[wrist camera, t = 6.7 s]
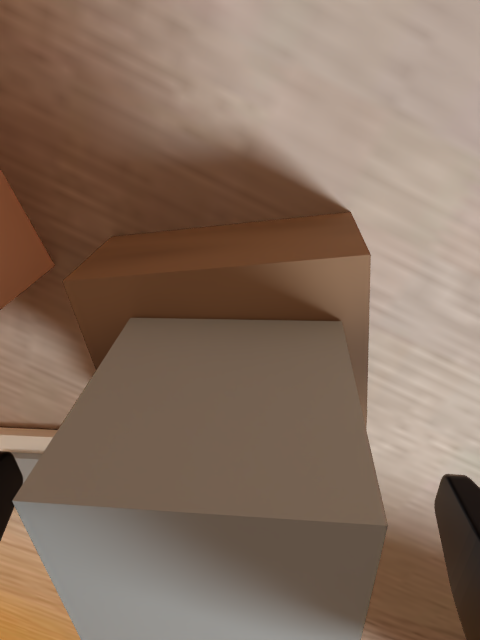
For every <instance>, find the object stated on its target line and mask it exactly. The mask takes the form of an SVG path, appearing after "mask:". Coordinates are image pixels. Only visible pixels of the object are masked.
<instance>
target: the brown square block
mask: <svg viewBox="0 0 480 640" xmlns="http://www.w3.org/2000/svg"><path fill="white" fill-rule="evenodd" d="M370 258H371V255H370V252H369V250H368V248H367V246H366V244H365V242H364V239H363V237H362V235H361V233H360V231H359V229H358V227H357V224H356V222H355V220H354V218H353V216H352V214H351V212H345V213H336V214H326V215H316V216H307V217H297V218H287V219H277V220H268V221H258V222H248V223H239V224H229V225H219V226H210V227H200V228H190V229H181V230H171V231H161V232H152V233H142V234H132V235H122V236H113V237H111V238H110V239H109V240H107V241H106V242H105V243H104V244H103V245H102V246H101V247H100V248H99V249H97V250H96V251H95V252H94V253H93V254H92V255H91V256H90V257H89V258H88V259H86V260H85V261H84V262H83V263H82V264H81V265H80V266H79V267H78V268H76V269H75V270H74V271H73V272H72V273H71V274H70V275H69V276H68V277H67V278H65V279H64V280H63V281H62V282H63V284H64V287H65V290H66V292H67V295H68V298H69V300H70V303H71V305H72V308H73V311H74V313H75V316H76V319H77V321H78V324H79V326H80V329H81V332H82V334H83V337H84V340H85V342H86V345H87V347H88V350H89V353H90V355H91V358H92V361H93V363H94V366H95V368H96V370H97V369H98V367H99V366H100V364H101V362H102V361H103V359H104V358H105V356H106V355H107V353H108V352H109V350H110V348H111V347H112V345H113V344H114V342H115V341H116V339H117V338H118V336H119V335H120V333H121V331H122V330H123V328H124V327H125V325H126V324H127V322H128V321H129V319H130V318H176V319H236V320H296V321H342V325H343V329H344V334H345V338H346V342H347V347H348V351H349V356H350V360H351V365H352V369H353V374H354V378H355V382H356V387H357V391H358V396H359V400H360V405H361V409H362V414H363V418H364V422H365V427H366V423H367V381H368V340H369V299H370Z"/></svg>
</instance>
